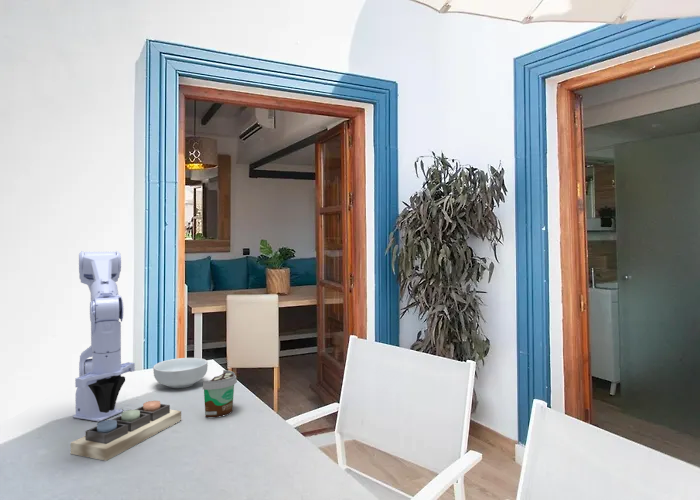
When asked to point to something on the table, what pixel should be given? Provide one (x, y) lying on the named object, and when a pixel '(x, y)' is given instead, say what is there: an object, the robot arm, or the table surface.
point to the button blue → (106, 426)
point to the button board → (124, 434)
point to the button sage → (130, 415)
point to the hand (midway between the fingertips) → (106, 410)
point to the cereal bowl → (180, 372)
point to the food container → (219, 394)
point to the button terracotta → (151, 406)
